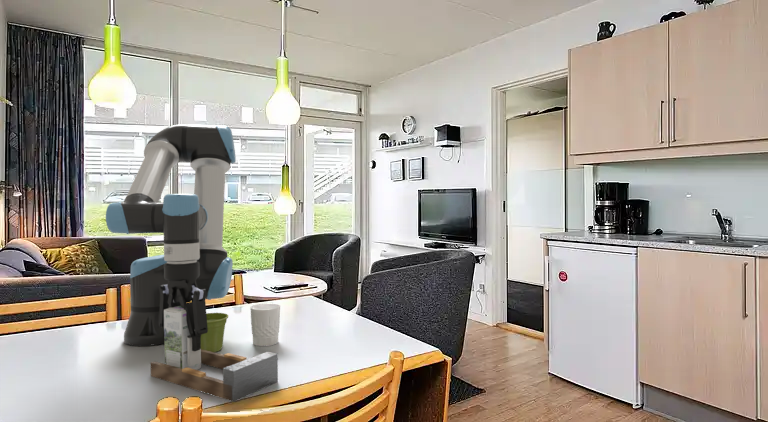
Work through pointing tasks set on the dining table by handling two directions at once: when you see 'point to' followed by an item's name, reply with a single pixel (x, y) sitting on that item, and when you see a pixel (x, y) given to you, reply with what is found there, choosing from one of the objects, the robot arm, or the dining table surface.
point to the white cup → (265, 324)
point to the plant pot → (214, 332)
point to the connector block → (251, 375)
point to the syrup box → (176, 338)
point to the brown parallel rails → (199, 373)
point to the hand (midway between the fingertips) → (183, 361)
